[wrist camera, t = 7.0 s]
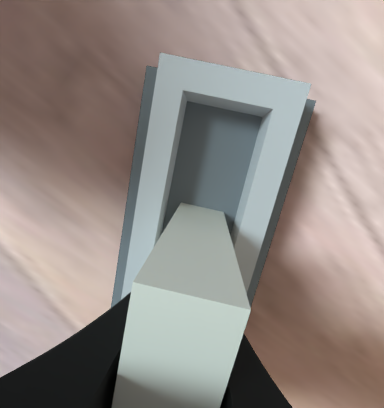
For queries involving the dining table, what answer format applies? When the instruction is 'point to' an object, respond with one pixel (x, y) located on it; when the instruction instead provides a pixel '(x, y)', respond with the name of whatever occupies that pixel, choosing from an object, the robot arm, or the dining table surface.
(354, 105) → the dining table surface
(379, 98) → the dining table surface
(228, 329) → the door panel
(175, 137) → the track base
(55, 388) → the robot arm
